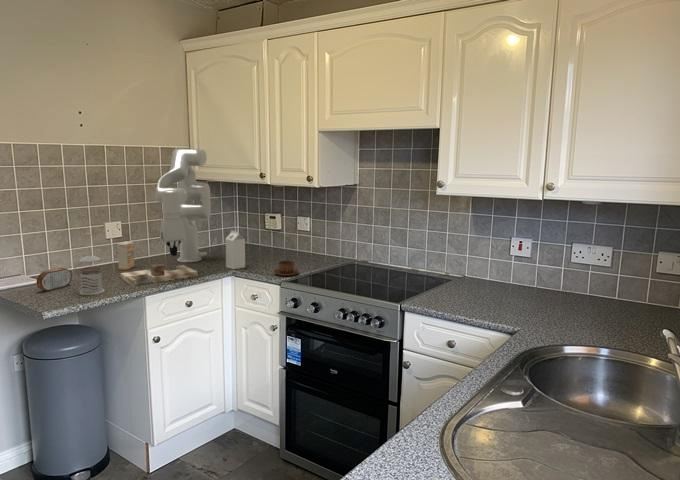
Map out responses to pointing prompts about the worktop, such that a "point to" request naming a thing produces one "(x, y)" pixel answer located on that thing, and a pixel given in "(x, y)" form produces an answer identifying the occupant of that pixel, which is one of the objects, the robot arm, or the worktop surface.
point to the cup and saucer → (286, 268)
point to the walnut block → (157, 270)
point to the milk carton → (235, 251)
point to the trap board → (147, 278)
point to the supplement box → (126, 255)
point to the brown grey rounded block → (54, 279)
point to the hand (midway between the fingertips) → (173, 255)
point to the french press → (90, 276)
